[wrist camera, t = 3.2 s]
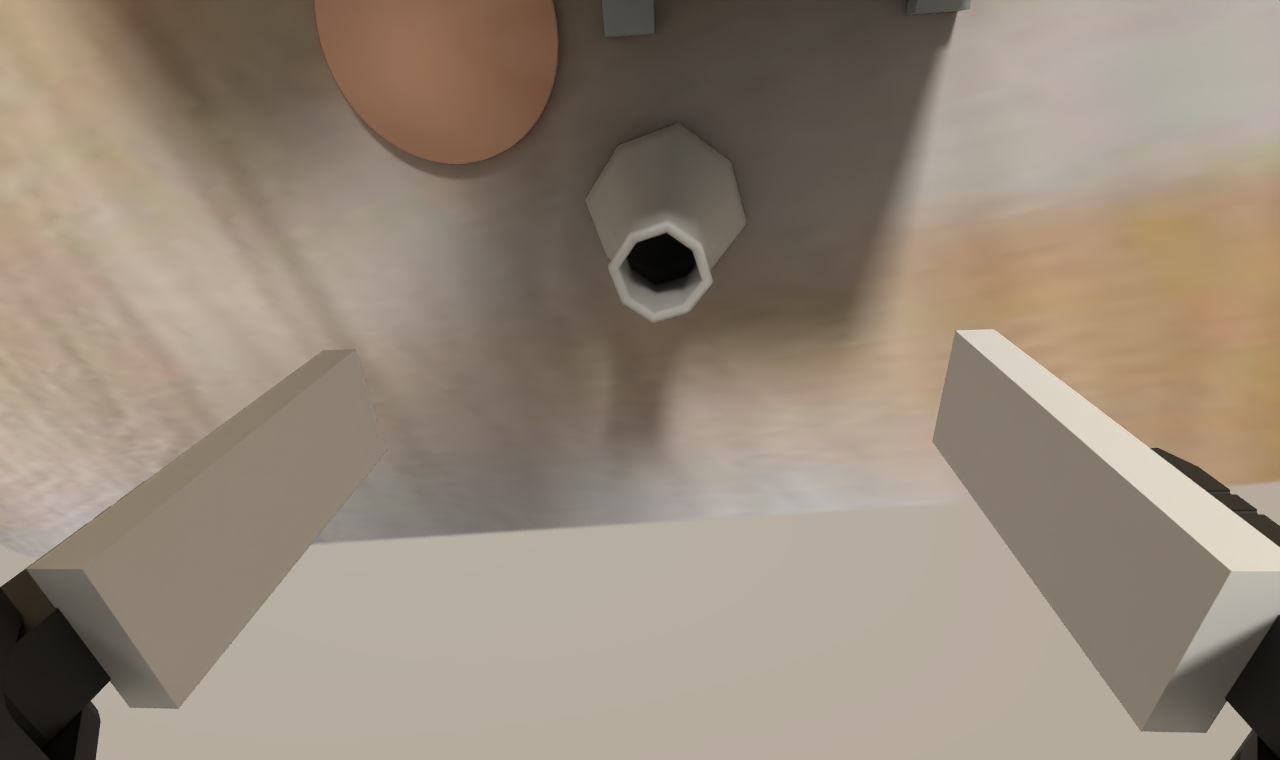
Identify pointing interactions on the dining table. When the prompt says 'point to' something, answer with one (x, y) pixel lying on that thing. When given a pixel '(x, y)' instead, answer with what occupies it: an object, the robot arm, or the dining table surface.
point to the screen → (634, 15)
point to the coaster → (443, 70)
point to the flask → (665, 219)
